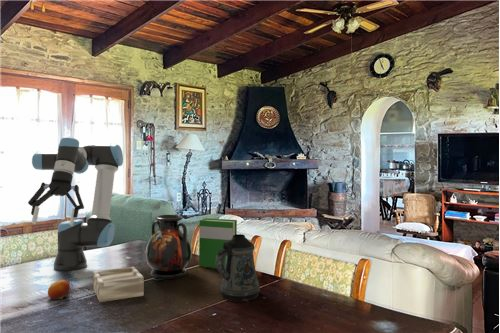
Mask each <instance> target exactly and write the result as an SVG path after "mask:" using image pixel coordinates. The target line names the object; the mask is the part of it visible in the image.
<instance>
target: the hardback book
mask: <svg viewBox="0 0 500 333" xmlns="http://www.w3.org/2000/svg"><path fill="white" fill-rule="evenodd" d="M198 229H199V233H198V234H199V235H198V236H199V242H198V246H199V247H198V267H199V266H205V267H204V268H206V267H214V268H213V269H217V267H216V256H217V254H218V252H219V251H220V250H221V249H223V243H224V242H227V241H230V240H231V239H232V238H233V235H236V234H237V233H238V232H237V229H238V220H237V219H230V218H227V219H226V218H225V219H224V218H210V217H204V218H201V219H199V228H198ZM225 260H226V256H225V257H224V260H223V266H225Z"/></svg>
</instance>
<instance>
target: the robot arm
mask: <svg viewBox="0 0 500 333" xmlns="http://www.w3.org/2000/svg"><path fill="white" fill-rule="evenodd" d="M123 163H124V155H123V150H122V147H121V146H120V144H117V143H114V144H113V143H85V144H81V145H80V141H79V140H78V139H76V138H75V137H70V136H64V137H62V138H60V141H59V144H58V148H57V150H56V151H50V152H42V151H41V152H35V153H34V154H33V156H32V158H31V165H32V167H33V168H34V169H35V170H37V171H38V170H39V171H45V170H46V171H53V173H52V176H51V181H50V183H45V182H41V185H40V187H39V188H38V189H37V191H36V192H35V193H34V194H33V196H32V197H31V198H30V199H29V200H28V202H27V204H28V205H29V206H31V213H30V215H32V218H31V224H32V225H36V224H37V221H38V220H37V219H38V217H39V212H40V206H41V205H42V204H43V203H45V202H46V201H47V200H48V199H50V198H51V197H53V196H55V197H65V196H66V197H67V198H68V200H69V201H70V203H71V205H72V206H73V208H71V214H70V218H69V220H66V221H62V222H60V223H59V224H58V226H57V231H56V233H57V253H56V256H55V260H54V262H53V270H56V271H76V270H80V269H83V268H86V267H87V266H88V265H87V264H88V263H87V258H86V255H85V252H84V247H98V248H101V247H109V246H110V245H111V243H112V242H113V240H114V238H115V232H116V226H115V223H113V220H112V219H111V217H110V213H111V205H112V197H113V190H114V189H113V188H114V181H115V173H116V172H117V171H118V170H119V167H121V166H123ZM89 166H94V168H95V169H96V171H97V173H96V180H95V186H94V192H93V193H94V195H93V202H92V209H91V215H90V216H89V217H88V218H87V222H84V219H82V218H81V219H79V218H78V214H79V211H80V210H83V209H84V208H85V205H84V203H83V200H82V197H81V194H80V187H79V185H78V184H75V185H72V184H73V177H74V173H75V174H79V175H80V174H84V173H85V172H86V171H87V170H88V169H89ZM48 188H49V189H48ZM46 190H48V191H46ZM71 190H73V192H74V194H75V196H76V199H77V203H78V204H77V203H76V202H75V200H74V199H73V197H72V196H71V195H70V193H69V192H70V191H71ZM45 191H46V193H44V192H45ZM77 218H78V219H77Z"/></svg>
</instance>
